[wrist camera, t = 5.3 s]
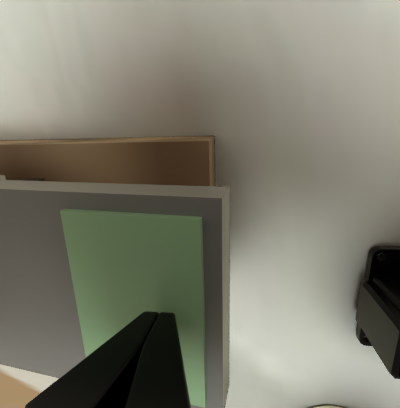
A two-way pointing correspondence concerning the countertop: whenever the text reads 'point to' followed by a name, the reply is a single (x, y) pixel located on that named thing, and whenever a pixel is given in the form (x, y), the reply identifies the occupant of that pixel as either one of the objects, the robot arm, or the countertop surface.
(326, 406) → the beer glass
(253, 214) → the countertop surface
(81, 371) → the robot arm
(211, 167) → the switch base
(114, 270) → the grey flat panel
